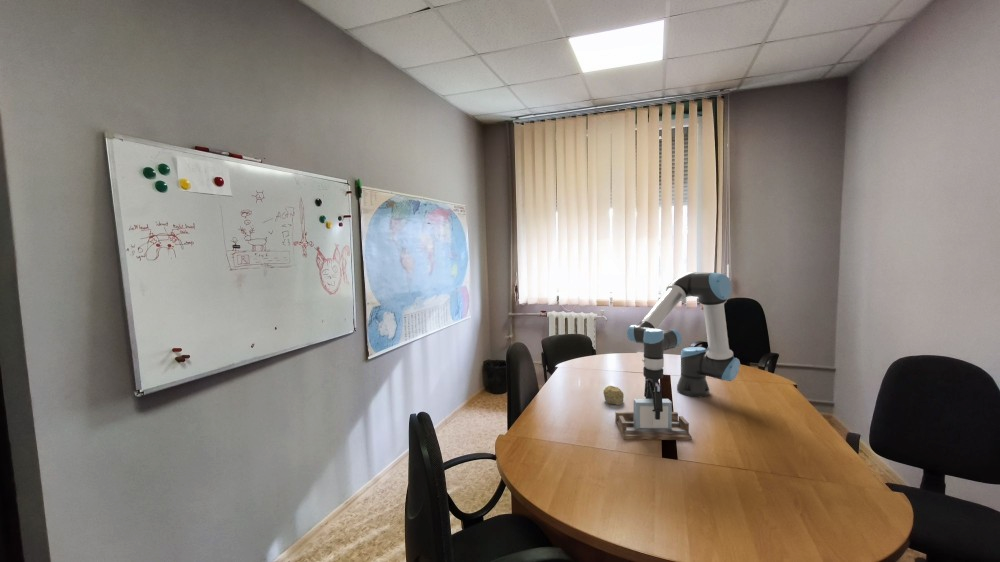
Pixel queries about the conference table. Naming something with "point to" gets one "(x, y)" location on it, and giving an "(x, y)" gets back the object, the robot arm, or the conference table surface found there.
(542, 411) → the conference table surface
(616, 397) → the decorative item
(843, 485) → the conference table surface
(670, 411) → the door panel
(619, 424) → the base
